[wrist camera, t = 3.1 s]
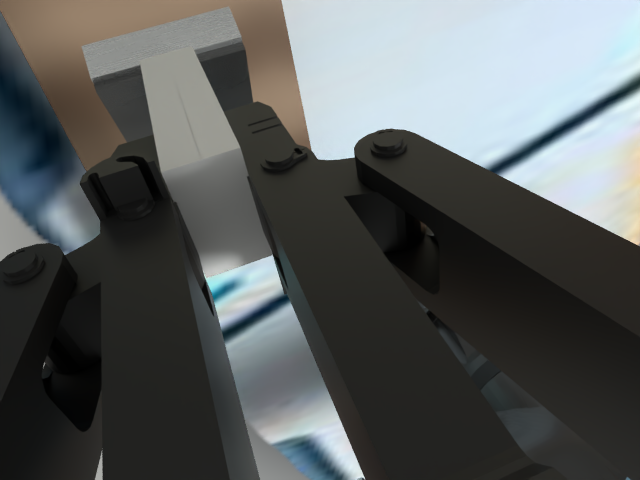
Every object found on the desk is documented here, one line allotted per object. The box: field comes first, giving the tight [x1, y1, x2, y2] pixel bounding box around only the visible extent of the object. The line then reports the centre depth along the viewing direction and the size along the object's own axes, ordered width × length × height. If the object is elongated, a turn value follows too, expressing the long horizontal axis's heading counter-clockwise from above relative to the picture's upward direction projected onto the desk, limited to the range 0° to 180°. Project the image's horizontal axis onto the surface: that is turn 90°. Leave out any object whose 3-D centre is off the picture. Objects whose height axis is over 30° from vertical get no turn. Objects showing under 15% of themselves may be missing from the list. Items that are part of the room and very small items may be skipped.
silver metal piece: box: [82, 6, 253, 142], centre depth 23 cm, size 18×4×2 cm
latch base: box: [0, 0, 311, 172], centre depth 26 cm, size 22×12×6 cm, turn 10°
